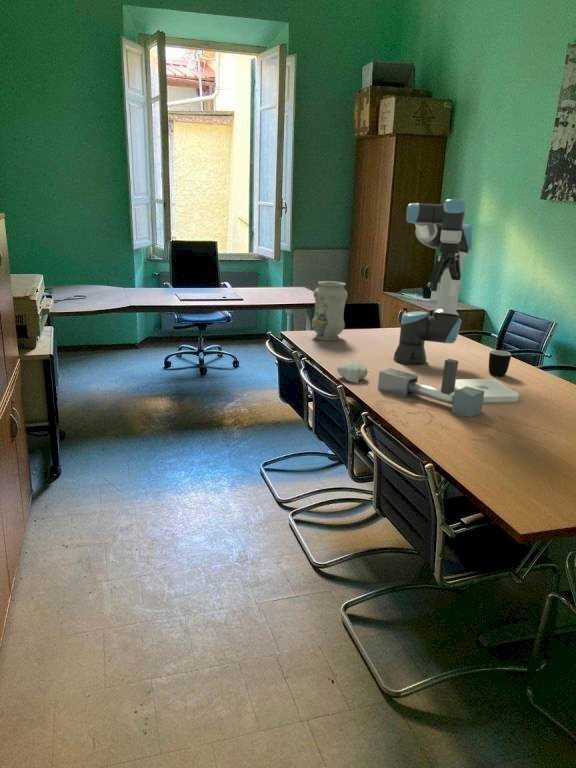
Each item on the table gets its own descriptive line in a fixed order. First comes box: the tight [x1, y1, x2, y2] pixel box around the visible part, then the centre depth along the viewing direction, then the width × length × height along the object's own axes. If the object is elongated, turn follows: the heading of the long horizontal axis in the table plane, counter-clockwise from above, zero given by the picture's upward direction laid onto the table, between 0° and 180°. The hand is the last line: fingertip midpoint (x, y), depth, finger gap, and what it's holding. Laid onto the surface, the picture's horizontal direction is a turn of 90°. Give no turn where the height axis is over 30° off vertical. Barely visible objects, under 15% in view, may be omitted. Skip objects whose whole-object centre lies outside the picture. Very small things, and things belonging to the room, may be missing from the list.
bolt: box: [408, 358, 459, 406], centre depth 215 cm, size 26×4×16 cm, turn 47°
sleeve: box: [377, 368, 419, 398], centre depth 227 cm, size 13×8×7 cm, turn 47°
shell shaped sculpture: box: [336, 361, 368, 384], centre depth 241 cm, size 13×13×6 cm
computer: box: [453, 378, 520, 403], centre depth 231 cm, size 22×22×3 cm
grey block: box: [451, 386, 484, 418], centre depth 208 cm, size 7×9×8 cm
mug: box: [488, 349, 512, 378], centre depth 257 cm, size 12×9×10 cm
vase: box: [311, 280, 348, 342], centre depth 306 cm, size 18×18×30 cm
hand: (443, 298), depth 224 cm, fingers open, 13 cm apart
